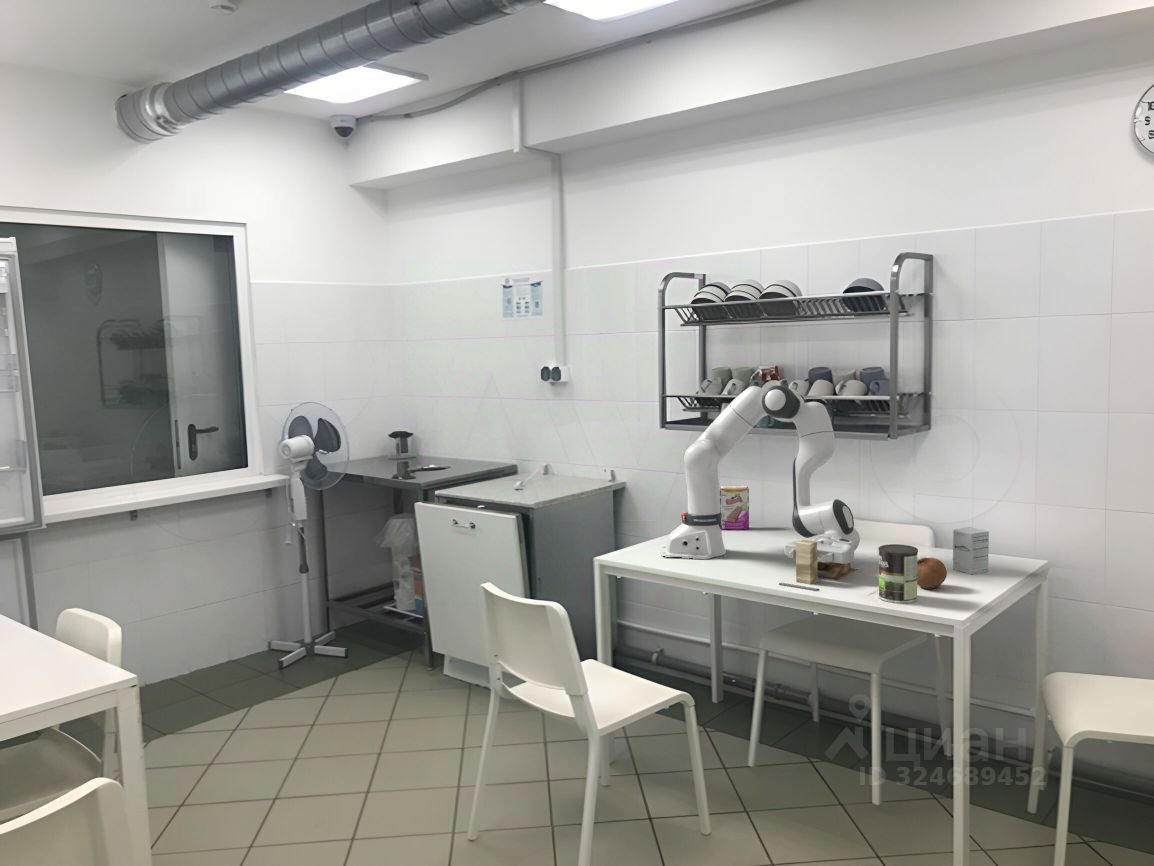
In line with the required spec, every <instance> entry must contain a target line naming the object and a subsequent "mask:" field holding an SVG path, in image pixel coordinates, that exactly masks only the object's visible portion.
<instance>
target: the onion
mask: <svg viewBox="0 0 1154 866" xmlns="http://www.w3.org/2000/svg"><path fill="white" fill-rule="evenodd" d="M947 576H948V571H947V568H946V566H945V564H944V562H942V561H941V560H940V559H939V558H936V557H921V558H920V559H917V586H919V587H920V588H922V589H926V590H929V589H931V590H932V589H936V588H938V587H941V585H942V584H944V583H945V581H946V578H947Z"/></svg>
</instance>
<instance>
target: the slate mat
mask: <svg viewBox="0 0 1154 866" xmlns="http://www.w3.org/2000/svg"><path fill="white" fill-rule="evenodd" d="M778 585H780V586H784V587H785V586H786V587H789V588H797V589H804V590H809V591H813V592H817V591H819V590H820V588H817V587H809V586H804V585H798V584H797V585H796V584H792V583H786V582H779V583H778Z"/></svg>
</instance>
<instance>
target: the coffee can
mask: <svg viewBox="0 0 1154 866" xmlns="http://www.w3.org/2000/svg"><path fill="white" fill-rule="evenodd" d="M918 553H919V548H917V547H915V546H912V545H908V544H898V543H897V544H896V543H895V544H890V543H889V544H884V545H883V544H882V545H881V546H878V599H879V600H881V601H883V600H884V602H886V601H887V602H888V603H891V602H892V603H893V604H911V602H912V603H915V602H916V601H918V585H917V560H918V555H919V554H918Z"/></svg>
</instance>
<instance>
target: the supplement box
mask: <svg viewBox="0 0 1154 866" xmlns="http://www.w3.org/2000/svg"><path fill="white" fill-rule="evenodd" d="M952 534H953V538H952V548H953V549H952V569H953V570H954V571H955V570H956V571H959V572H963V573H967V574H969V575H976V574H980V573H985V572H989V552H990V551H989V550H990V549H989V548H990V547H989V545H990V543H989V542H990V541H989V539H990V536H989V535H990V531H988V530H984V529H979V528H975V527H972V526H971V527H970V526H969V527H962V528H955V529H953V533H952Z"/></svg>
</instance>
